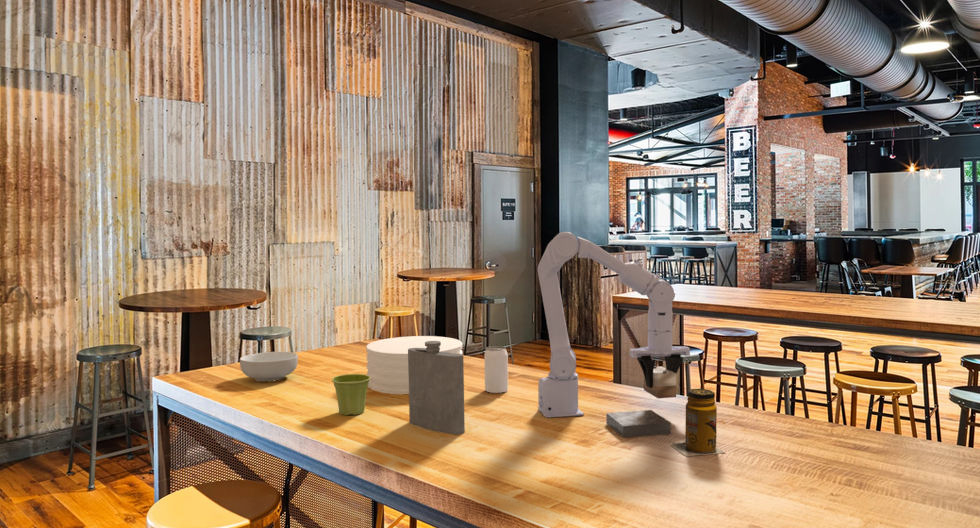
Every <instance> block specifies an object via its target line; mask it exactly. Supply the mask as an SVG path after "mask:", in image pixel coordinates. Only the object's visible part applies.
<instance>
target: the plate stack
mask: <svg viewBox="0 0 980 528" xmlns="http://www.w3.org/2000/svg"><path fill="white" fill-rule="evenodd" d="M427 341H440V342H441V345H440V346H439V347H440V350H439V352H447V353H456V354H463V350H462V349H463V342H462V340H460V339H457V338H453V337H447V336H446V337H445V336H437V335H414V336H413V335H411V336H410V335H409V336H398V337H397V336H396V337H389V338H384V339H379V340H374V341H372V342H370V343H368V344H366V353H367V354H366V361H367V363H366V369H367V372H366V375H368V376H370V377H371V379H370V380H369V384H368V386H367V388H368V389H370V388H371V389H370V390H372V391H374V390H375V392H377V391H379V392H378V393H383V394H388V393H389V394H390V395H402V394H409V374H408V349H409V348H427V346H425V342H427ZM463 355H464V354H463Z"/></svg>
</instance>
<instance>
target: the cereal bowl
mask: <svg viewBox="0 0 980 528" xmlns="http://www.w3.org/2000/svg"><path fill="white" fill-rule="evenodd" d="M298 362H299V355H298V353H296V352H292V351H269V352H267V351H266V352H257V353H252V354H247V355H243V356H241V357H240V358H239V365H240V370H241V372H242V373H243V374H244V375H245V376H247V377H249V378H251V379H254V380H255V381H256V380H257V381H256V382H259V381H263V382H264V383H266V382H265V381H271V382H275V381H274V380H278V381H280V380H279V379H281V380H283V379H284V378H285V377H286V376H288V375H291V374H292V373H293V372H294V371H295V370H296V369H297V367H298ZM282 378H283V379H282ZM263 382H262V383H263Z"/></svg>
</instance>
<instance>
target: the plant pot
mask: <svg viewBox="0 0 980 528" xmlns="http://www.w3.org/2000/svg"><path fill="white" fill-rule="evenodd" d="M370 379H371V377H370V376H368V375H367V374H364V373H363V374H362V373H351V374H350V373H349V374H348V373H347V374H341V375H340V374H339V375H336V376H334V377H332V378H331V382H332V383H333V386H334V389H335V394H336V400H337V407H338V411H339V412H338V413H339V414H340V415H342V416H349V415H353V416H357V415H360V414H363V413H364V412H365V410H366V408H365V407H366V402H367V401H366V400H367V393H368V384H369V380H370Z"/></svg>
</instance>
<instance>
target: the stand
mask: <svg viewBox="0 0 980 528" xmlns="http://www.w3.org/2000/svg"><path fill="white" fill-rule="evenodd" d="M605 417H606V425H607V426H608V427H610V428H611V429H612V430H614V432H615V433H616V434H618V435H619V436H620V437H622V438H635V437H637V438H638V437H647V436H649V437H650V436H661V435H671V430H672V429H671V427H672V426H671V424H672V423H671V422H670V421H669V420H667V419H665V418H664V417H663V416H661V415H660V414H658V413H656V412H655V411H654V410H652V409H648V410H646V409H645V410H644V409H643V410H631V411H617V412H606V416H605Z"/></svg>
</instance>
